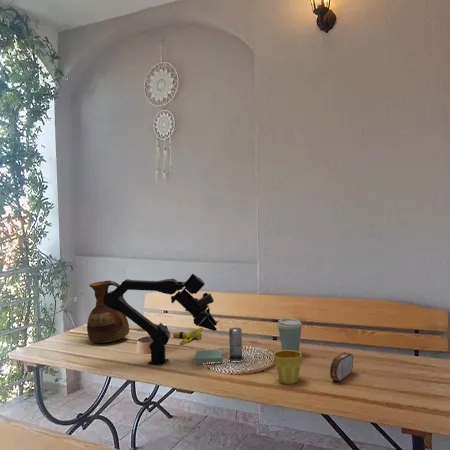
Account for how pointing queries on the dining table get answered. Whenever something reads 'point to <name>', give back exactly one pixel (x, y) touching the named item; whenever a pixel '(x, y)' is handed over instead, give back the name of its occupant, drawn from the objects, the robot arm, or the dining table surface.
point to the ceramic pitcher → (105, 317)
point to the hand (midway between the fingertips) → (216, 327)
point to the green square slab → (208, 356)
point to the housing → (235, 344)
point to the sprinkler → (188, 335)
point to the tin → (341, 366)
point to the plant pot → (288, 365)
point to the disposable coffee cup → (290, 333)
